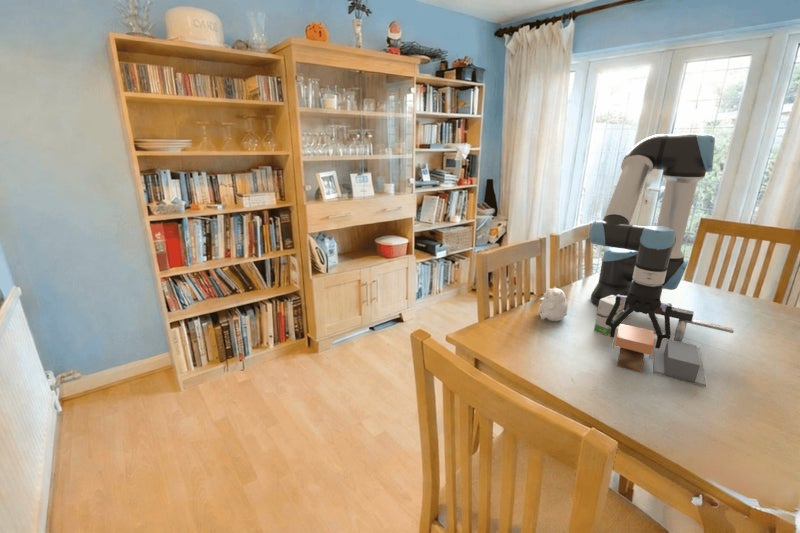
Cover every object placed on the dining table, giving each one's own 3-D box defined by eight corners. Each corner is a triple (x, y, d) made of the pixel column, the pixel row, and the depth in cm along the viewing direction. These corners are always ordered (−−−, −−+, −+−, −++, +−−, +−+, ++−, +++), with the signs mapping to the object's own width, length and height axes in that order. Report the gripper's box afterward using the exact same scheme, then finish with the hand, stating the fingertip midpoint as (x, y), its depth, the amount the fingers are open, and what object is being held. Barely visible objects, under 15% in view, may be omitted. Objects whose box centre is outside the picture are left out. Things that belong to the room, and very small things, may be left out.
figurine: (562, 313, 144) (566, 284, 140) (570, 325, 135) (575, 294, 131) (535, 312, 145) (539, 283, 141) (542, 324, 136) (545, 293, 132)
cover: (615, 345, 110) (616, 336, 109) (618, 331, 118) (619, 323, 117) (651, 355, 105) (653, 345, 104) (651, 339, 113) (654, 330, 112)
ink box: (607, 336, 127) (613, 304, 123) (592, 330, 131) (598, 299, 127) (620, 329, 131) (626, 298, 127) (606, 323, 135) (612, 293, 131)
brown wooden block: (616, 366, 110) (619, 354, 109) (620, 348, 120) (622, 337, 119) (640, 372, 107) (643, 360, 106) (642, 353, 117) (644, 342, 115)
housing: (653, 372, 107) (657, 354, 105) (654, 338, 126) (658, 322, 124) (705, 387, 101) (711, 368, 99) (698, 348, 119) (703, 331, 117)
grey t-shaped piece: (725, 357, 112) (736, 324, 109) (647, 337, 124) (654, 306, 120) (725, 353, 114) (735, 320, 111) (648, 333, 126) (655, 303, 122)
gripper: (602, 278, 108) (590, 346, 115) (696, 294, 97) (676, 369, 104) (605, 271, 114) (593, 336, 121) (694, 285, 102) (675, 356, 110)
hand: (631, 351), depth 113 cm, fingers closed on cover, 9 cm apart
